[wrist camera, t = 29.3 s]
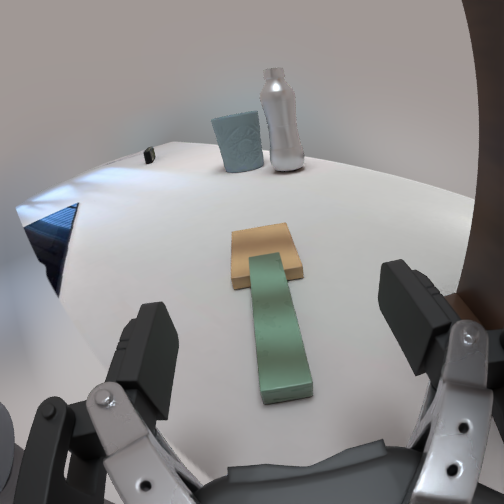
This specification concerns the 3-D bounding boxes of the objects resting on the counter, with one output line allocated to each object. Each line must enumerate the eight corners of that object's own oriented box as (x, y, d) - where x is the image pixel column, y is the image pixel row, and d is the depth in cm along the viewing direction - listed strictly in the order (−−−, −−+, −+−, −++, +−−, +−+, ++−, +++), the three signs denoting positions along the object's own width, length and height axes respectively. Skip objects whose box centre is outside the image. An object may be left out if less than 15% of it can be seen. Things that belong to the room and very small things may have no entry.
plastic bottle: (312, 168, 54) (298, 66, 44) (285, 177, 51) (268, 67, 42) (291, 164, 59) (277, 70, 49) (265, 172, 56) (248, 72, 47)
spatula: (340, 390, 15) (342, 375, 14) (235, 408, 15) (229, 395, 14) (287, 232, 33) (285, 219, 32) (233, 241, 33) (231, 229, 32)
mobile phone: (150, 150, 95) (153, 144, 107) (142, 152, 94) (146, 146, 107) (153, 163, 97) (156, 156, 110) (145, 165, 97) (149, 158, 110)
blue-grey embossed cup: (254, 172, 57) (244, 114, 51) (212, 174, 62) (201, 121, 56) (273, 160, 65) (265, 109, 59) (234, 162, 69) (225, 114, 63)
